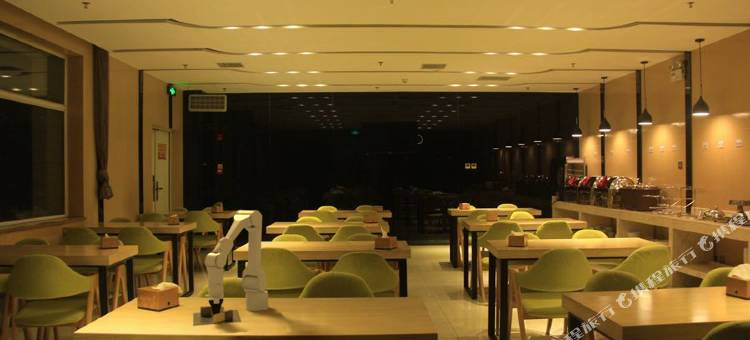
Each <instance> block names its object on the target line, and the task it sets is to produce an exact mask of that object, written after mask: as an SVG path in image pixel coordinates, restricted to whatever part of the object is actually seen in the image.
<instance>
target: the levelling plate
mask: <svg viewBox="0 0 750 340" xmlns="http://www.w3.org/2000/svg"><path fill="white" fill-rule="evenodd" d="M232 310H233V319H231V320H224V321H220V322H217V323H214V322H213V315H209V316H201V315H200V312H199V311H198V312H193V313H192V326H195V327H196V326H207V325H208V326H209V325H219V324H220V325H222V324H232V323H234V324H235V323H242V319H241V317H240V316H241V315H240V313H239V311H238V310H239V309H232Z"/></svg>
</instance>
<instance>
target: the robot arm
mask: <svg viewBox="0 0 750 340" xmlns="http://www.w3.org/2000/svg"><path fill="white" fill-rule="evenodd" d="M262 228H263V215H262V213H261V212H260V211H259V210H256V209H254V210H246V209H245V210H244V209H243V210H242V209H239V210H237V211H236V213H235V215H234V216H233V222H232V225H231V226H230V229H228V232H227V234H226V235H225V236H224V237H222V238H220V239H219V240H218V242H217V244H216V246H215V247H214V249H212V251H211V252H210V253H208V254H207V255H206V256H205V258H204V262H203V263H204V265H205V267H206V271H207V281H208V282H207V287H208V288H207V289H208V290H207V291H208V294H205V296H204V298H206V299H207V298H208V299H209V300H208V304H209V306H211V309H212V314H213V315H215V314H218V313H220V309H221V306H223V303H224V297H225V294H224V266H226V264H227V259H228V256H229V255H228V254H230V252H231V250H232V249H233V247H234V241H235V239H236V238H237V237H238V236H239V235H240V233H241V232H242V230H243V229H245V230H246V231H248V247H247V248H248V250H247V269H246V270H245V271H244V272H243V273H242V278H241V283H240V284H241V288H242V289H243V292H245V310H246V311H248V312H257V311H266V310H269V293H268V290H266V288H267V285H268V281H267V273H266V272H265V271H264V270H263V269H262V268H261V267H262V266H261V265H262V264H261V262H262V261H261V260H262Z"/></svg>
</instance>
